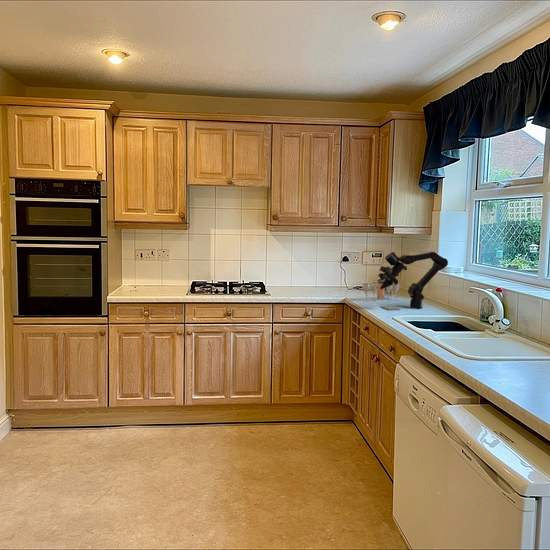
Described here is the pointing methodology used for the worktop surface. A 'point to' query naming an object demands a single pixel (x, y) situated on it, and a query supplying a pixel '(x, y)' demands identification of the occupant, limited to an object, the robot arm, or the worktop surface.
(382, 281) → the spice jar
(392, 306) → the slate board
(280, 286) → the worktop surface
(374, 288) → the goblet set
